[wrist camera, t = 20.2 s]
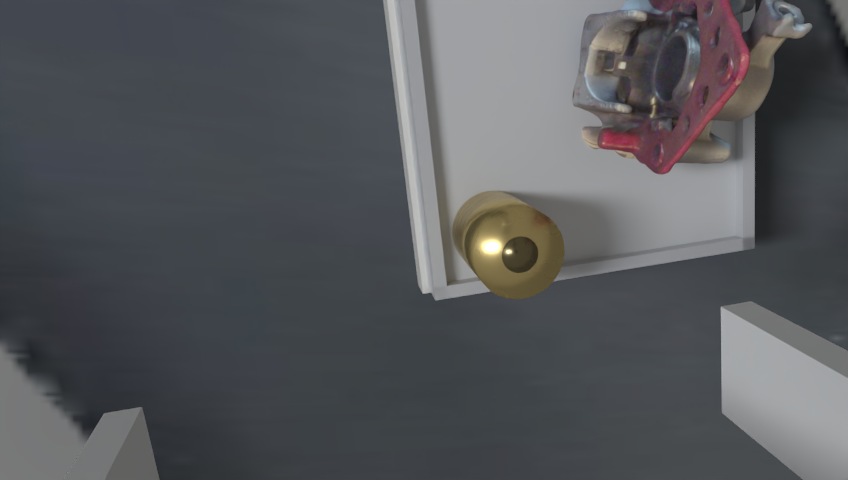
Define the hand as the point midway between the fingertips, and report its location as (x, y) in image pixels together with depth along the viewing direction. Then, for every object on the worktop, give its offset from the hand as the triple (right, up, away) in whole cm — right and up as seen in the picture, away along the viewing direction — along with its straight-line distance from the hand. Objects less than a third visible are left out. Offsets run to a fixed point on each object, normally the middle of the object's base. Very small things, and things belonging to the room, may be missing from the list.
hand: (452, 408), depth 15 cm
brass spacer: (+4, +4, +27) cm, 28 cm away
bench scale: (+8, +15, +30) cm, 34 cm away
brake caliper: (+13, +14, +27) cm, 33 cm away
